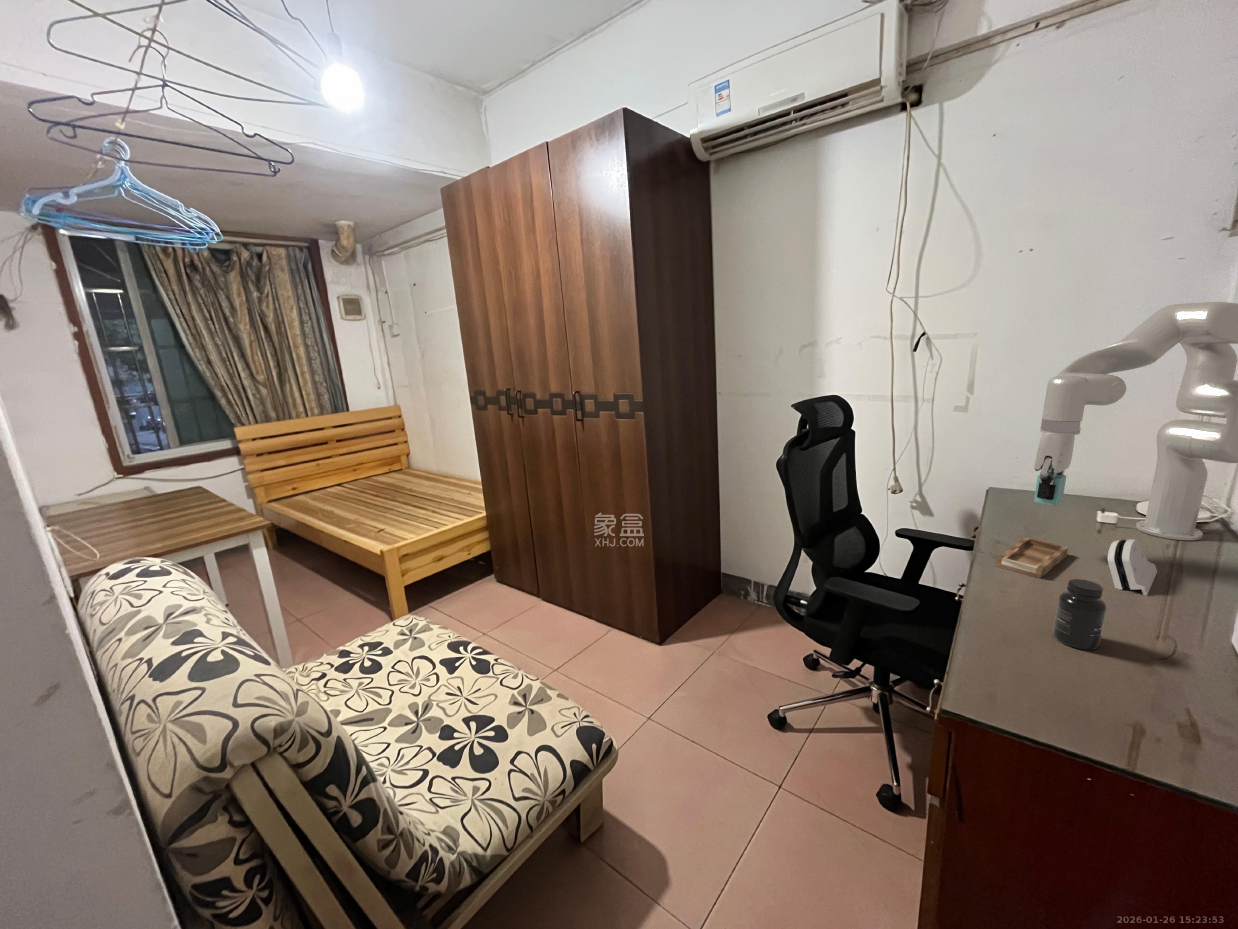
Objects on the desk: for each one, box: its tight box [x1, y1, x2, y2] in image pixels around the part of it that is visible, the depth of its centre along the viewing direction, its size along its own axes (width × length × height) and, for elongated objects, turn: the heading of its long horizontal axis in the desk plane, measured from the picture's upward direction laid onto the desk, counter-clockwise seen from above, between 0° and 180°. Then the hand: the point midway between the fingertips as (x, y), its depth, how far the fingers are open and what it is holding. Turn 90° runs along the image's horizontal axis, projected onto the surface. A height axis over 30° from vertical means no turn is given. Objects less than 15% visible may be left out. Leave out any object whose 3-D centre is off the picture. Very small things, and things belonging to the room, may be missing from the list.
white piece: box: [1107, 538, 1158, 597], centre depth 117 cm, size 17×5×10 cm, turn 128°
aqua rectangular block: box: [1033, 474, 1067, 507], centre depth 128 cm, size 4×4×7 cm
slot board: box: [995, 537, 1069, 579], centre depth 129 cm, size 19×9×2 cm, turn 125°
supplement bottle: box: [1052, 578, 1108, 651], centre depth 96 cm, size 7×7×12 cm
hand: (1048, 495), depth 128 cm, fingers closed on aqua rectangular block, 4 cm apart
